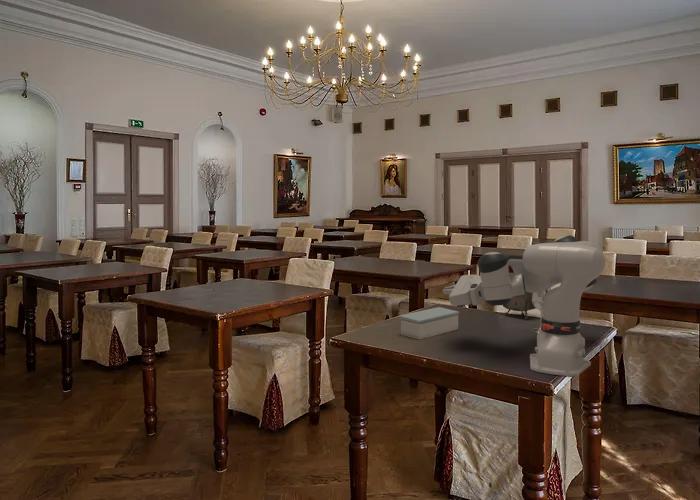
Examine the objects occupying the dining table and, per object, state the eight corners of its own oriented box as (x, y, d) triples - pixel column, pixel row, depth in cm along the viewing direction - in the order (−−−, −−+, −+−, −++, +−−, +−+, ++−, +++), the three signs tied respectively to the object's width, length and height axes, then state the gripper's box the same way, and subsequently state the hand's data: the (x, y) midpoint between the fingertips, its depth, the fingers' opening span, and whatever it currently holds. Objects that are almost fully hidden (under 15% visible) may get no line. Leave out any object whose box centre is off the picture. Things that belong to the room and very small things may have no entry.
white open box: (458, 329, 221) (458, 314, 221) (419, 339, 206) (419, 324, 205) (439, 325, 229) (439, 311, 228) (400, 334, 213) (400, 319, 212)
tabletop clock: (500, 315, 247) (501, 262, 244) (513, 313, 252) (514, 260, 250) (527, 321, 235) (528, 264, 233) (539, 318, 240) (541, 263, 238)
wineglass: (539, 334, 212) (540, 284, 210) (527, 329, 219) (528, 281, 217) (555, 332, 214) (557, 283, 212) (543, 328, 221) (544, 280, 219)
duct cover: (459, 314, 221) (459, 311, 221) (419, 323, 205) (419, 321, 204) (439, 309, 229) (439, 307, 229) (399, 318, 212) (399, 315, 212)
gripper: (483, 269, 203) (449, 272, 209) (472, 291, 186) (434, 294, 192) (487, 284, 204) (452, 287, 211) (476, 307, 187) (438, 310, 194)
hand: (443, 290), depth 201 cm, fingers closed
